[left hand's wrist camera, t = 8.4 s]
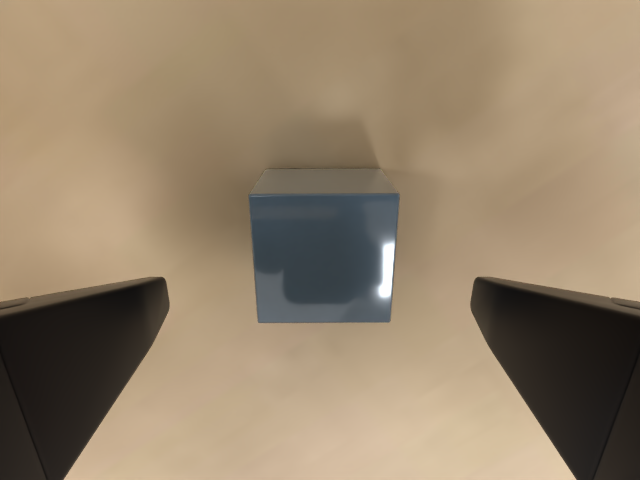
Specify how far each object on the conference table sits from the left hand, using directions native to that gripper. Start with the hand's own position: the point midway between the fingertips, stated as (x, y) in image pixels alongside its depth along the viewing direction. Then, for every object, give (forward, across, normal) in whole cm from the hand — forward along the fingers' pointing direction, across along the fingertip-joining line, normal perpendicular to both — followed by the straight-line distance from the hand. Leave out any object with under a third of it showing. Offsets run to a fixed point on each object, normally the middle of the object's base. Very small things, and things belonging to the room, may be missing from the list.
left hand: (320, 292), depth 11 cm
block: (+6, 0, 0) cm, 6 cm away
